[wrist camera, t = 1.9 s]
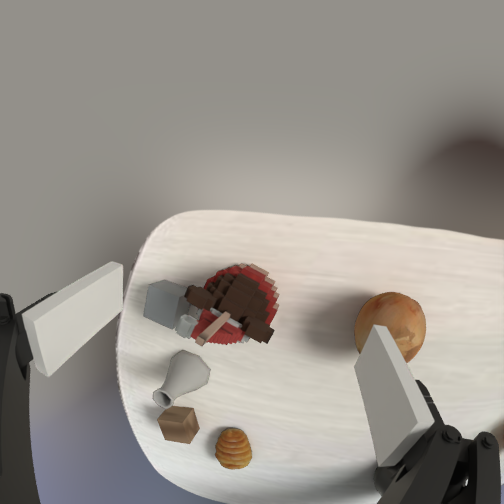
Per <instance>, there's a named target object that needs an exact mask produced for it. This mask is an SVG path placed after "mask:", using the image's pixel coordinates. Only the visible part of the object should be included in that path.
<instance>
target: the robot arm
mask: <svg viewBox="0 0 504 504" xmlns="http://www.w3.org/2000/svg"><path fill="white" fill-rule="evenodd" d="M122 289H123V265H122V264H119V263H116V262H112V261H111V262H110V263H108V264H106V265H104V266H102V267H100V268H99V269H97V270H95V271H93V272H91V273H90V274H88V275H86V276H84V277H83V278H81V279H79V280H77V281H76V282H74V283H72V284H70V285H69V286H67V287H65V288H64V289H62V290H60V291H58V292H54V293H51V294H48V295H46V296H45V297H43V298H41V300H38V301H36V302H35V303H33V304H31V305H30V306H28V307H26V308H25V309H23V310H22V311H20V312H18V313H17V314H15V309H14V305H13V299H12V297H11V296H10V295H8V294H3V293H1V294H0V504H40V499H39V495H38V490H37V485H36V480H35V473H34V467H33V459H32V450H31V440H30V421H29V386H30V384H29V383H30V365H29V362H30V361H31V360H33V359H34V362H35V366H36V369H37V370H38V371H40V372H41V373H43V374H44V375H46V376H47V377H50V376H51V375H52V374H53V373H54V372H55V371H56V370H57V369H58V368H59V367H60V366H61V365H62V364H63V363H64V362H65V361H66V360H68V359H69V358H70V357H71V356H72V355H73V354H74V353H75V352H76V351H77V350H78V349H79V348H80V347H82V346H83V345H84V344H85V343H86V342H87V341H88V340H89V339H90V338H92V337H93V336H94V335H95V334H96V333H97V332H98V331H99V330H100V329H102V328H103V327H104V326H105V325H106V324H107V323H108V322H109V321H111V320H112V319H113V318H114V317H115V316H116V315H117V314H119V313H120V312H121V311H122V310H123V290H122ZM354 368H355V372H356V375H357V379H358V383H359V386H360V390H361V394H362V398H363V402H364V406H365V410H366V414H367V418H368V422H369V426H370V431H371V435H372V439H373V444H374V449H375V453H376V458H377V463H378V468H377V469H376V471H375V473H374V483H375V487H376V489H377V490H378V492H379V493H380V494H381V496H382V497H381V499H380V500H379V501H378V503H377V504H500V503H501V474H500V457H499V447H498V442H497V440H496V438H495V437H494V436H493V435H492V434H491V433H488V432H481V433H479V434H478V435H477V436H476V438H475V439H474V440H470V439H464V438H462V436H461V433H460V432H459V431H458V430H457V429H456V428H454V427H453V426H450V425H445V424H444V422H443V420H442V418H441V416H440V414H439V412H438V410H437V408H436V406H435V404H433V400H432V398H431V397H430V394H429V392H428V390H427V388H426V387H425V386H424V385H423V384H422V383H421V381H420V380H415V379H414V377H413V375H412V373H411V371H410V369H409V367H408V365H407V363H406V362H405V360H404V358H403V356H402V354H401V352H400V350H399V348H398V347H397V345H396V343H395V341H394V339H393V338H392V336H391V334H390V332H389V330H388V329H387V327H385V326H380V325H373V327H372V329H371V332H370V334H369V336H368V338H367V341H366V343H365V345H364V347H363V349H362V352H361V354H360V356H359V358H358V360H357V362H356V364H355V366H354ZM467 479H468V484H467V485H465V483H466V480H467Z"/></svg>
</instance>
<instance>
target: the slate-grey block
mask: <svg viewBox="0 0 504 504" xmlns="http://www.w3.org/2000/svg"><path fill="white" fill-rule="evenodd" d="M186 290H187V288H186V287H183V286H180V285H178V284H175V283H173V282H170V281H168V280H162V281H159V282H156V283H153V284H150V285H149V287H148V292H147V298H146V303H145V309H144V315H143V316H144V317H146V318H148V319H150V320H152V321H155V322H157V323H159V324H161V325H163V326H166V327H168V328H170V329H174V328H175V327H177V324H178V322H179V320H180V317H181V316H183V315H184V314H186V315H188V311H189V306H190V303H189V302H187V301H186V300H187V298H185V297H184V295H185V293H186Z"/></svg>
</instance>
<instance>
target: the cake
mask: <svg viewBox="0 0 504 504" xmlns="http://www.w3.org/2000/svg"><path fill="white" fill-rule="evenodd" d="M268 274H269V272H267V271H265V270H263V269H261V268H259V267H257V266H256V265H254V264H251V265H250V267H249V266H245V265H244V264H242V263H241V264H240V265H239V266H237V265H236V266H234V267H231V268H229V267H228V268H227V269H225V270H221V271H219V272H217V273H216V275H215V276H214V277H211V278H209V279H208V280H207V282H206V284H205V286H204V288H202V287H196V286H194V285H191V286H188V288H187V290H186V293H185V295H184V297H185V298H187V300H186V301H187V302H189V303H191V304H192V305H194V306H196V307H197V308H199V309H198V311H197V313H196V314H198V318H199V321H198V320H197V319H195V318H193V317H192V316H190V315H188V316H187V315H186V314H184V315H183V316H181V317H180V320H179V322H178V324H177V327H176V329H175V331H177V334H179V335H180V336H182V337H183V338H186V337H187V338H188V339H190V338H191V337H192V338H194V339H195V340H196V341H195V343H197V344H199V345H200V346H203V345H204V344H205V343H206V342H210V343H212V342H213V343H218V344H220V343H221V344H226V345H227V344H228V343H230V344H232V343H235V344H236V342H239V343H240V342H241V343H244V341H245V342H248V340H249V339H250V338H252V339H254V340H256V341H258V342H260V343H261V342H262V341H263V342H265V343H268V342H269V340H270V338H271V336H272V335H273V332H274V329H272V328H270V323H271V322H272V320H273V318H274V316H275V314H276V312H277V309H278V307H279V304H277V303H276V301H277V298H278V297H279V295H280V294H278V293H276V290H277V287H275V286H273V285H274V283H275V281H274V280H272V279H270V278H268V277H267V276H268Z"/></svg>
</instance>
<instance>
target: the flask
mask: <svg viewBox="0 0 504 504" xmlns="http://www.w3.org/2000/svg"><path fill="white" fill-rule="evenodd" d="M209 375H210V368H209V367H208V366H207V365H206V364H205V362H204V361H203V360H202V359H201V358H200V356H198V355H195V354H192V353H190V352H187V351H185V350H182V351H181V352H179V353H178V354H177V355H175V356H174V357H172V359H171V363H170V367H169V371H168V374H167V377H166V380H165V382H164V384H163V385H162V387H161V388H159V389H157V390H156V391H154V392H153V400H154V401H155V402H156V403H157V404H158V406H161V407H163V408H165V409H168V408H170V407H171V406H173V401H174V400H175V399H176V398H177V397H179V396H181V395H183V394H186V393H189V392H192V391H195V390H197V389H199V388H201V387H202V386H204V385H206V384H207V383H208V379H209Z"/></svg>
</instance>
